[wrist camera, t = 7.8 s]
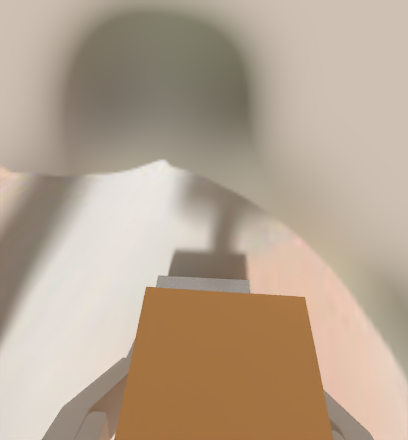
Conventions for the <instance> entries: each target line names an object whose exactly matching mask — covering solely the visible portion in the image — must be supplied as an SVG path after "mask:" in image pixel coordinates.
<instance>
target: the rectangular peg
mask: <svg viewBox="0 0 408 440" xmlns="http://www.w3.org/2000/svg"><path fill="white" fill-rule="evenodd" d="M114 440H333V436H332V431H331V426H330V421H329V416H328V411H327V406H326V401H325V396H324V391H323V386H322V381H321V376H320V371H319V366H318V361H317V356H316V351H315V346H314V341H313V336H312V331H311V326H310V321H309V316H308V311H307V306H306V301H305V297H297V296H281V295H266V294H250V293H235V292H219V291H204V290H188V289H173V288H157V287H146V290H145V295H144V300H143V305H142V310H141V314H140V319H139V324H138V329H137V334H136V338H135V343H134V348H133V353H132V358H131V362H130V367H129V372H128V377H127V382H126V386H125V391H124V396H123V401H122V406H121V410H120V415H119V420H118V425H117V430H116V434H115V439H114Z"/></svg>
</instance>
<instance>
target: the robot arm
mask: <svg viewBox="0 0 408 440" xmlns="http://www.w3.org/2000/svg"><path fill="white" fill-rule="evenodd" d="M134 343H135V340H134V342H133V344H132V347H131V349H130V351H129V353H128V355H127V358H122V359H121V360H120V361H118V362H117V363H116V364H115V365H113V366H112V367H111V368H110V369H109V370H107V371H106V372H105V373H104V374H102V375H101V376H100V377H99V378H98V379H96V380H95V381H94V382H93V383H91V384H90V385H89V386H88V387H87V388H85V389H84V390H83V391H82V392H80V393H79V394H78V395H77V396H76V397H74V398H73V399H72V400H71V401H69V402H68V403H67V404H66V405H65V406H63V407H62V409H61V410H60V412H59V413H58V415H57V417H56V418H55V420H54V421H53V423H52V424H51V426H50V428H49V429H48V431H47V432H46V434H45V435H44V437H43V439H42V440H110V439H111V438H112V437H113V435H114V434H115V433H116V430H117V425H118V420H119V415H120V410H121V406H122V401H123V396H124V391H125V386H126V382H127V377H128V372H129V367H130V362H131V358H132V353H133V348H134ZM323 391H324V390H323ZM324 396H325V401H326V406H327V411H328V416H329V421H330V426H331V431H332V436H333V440H374V439H373V437H372V436H371V434H370V433H369V432H368V431H367V430H366V429H365V428H364V427H363V426H362V425H361V424H360V423H359V422H358V421H357V420H356V419H354V418H353V417H352V416H351V415H350V414H349V413H348V412H347V411H346V410H345V409H344V408H343V407H342V406H340V405H339V404H338V403H337V402H336V401H335V400H334V399H333V398H332V397H331V396H330V395H329V394H328V393H327V392H325V391H324Z"/></svg>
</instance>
